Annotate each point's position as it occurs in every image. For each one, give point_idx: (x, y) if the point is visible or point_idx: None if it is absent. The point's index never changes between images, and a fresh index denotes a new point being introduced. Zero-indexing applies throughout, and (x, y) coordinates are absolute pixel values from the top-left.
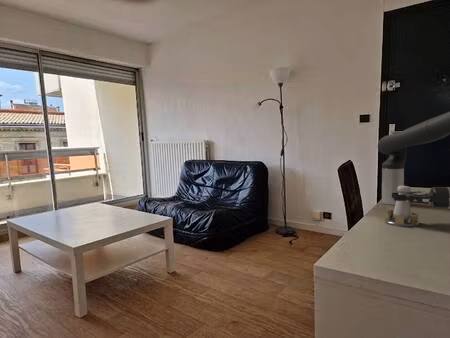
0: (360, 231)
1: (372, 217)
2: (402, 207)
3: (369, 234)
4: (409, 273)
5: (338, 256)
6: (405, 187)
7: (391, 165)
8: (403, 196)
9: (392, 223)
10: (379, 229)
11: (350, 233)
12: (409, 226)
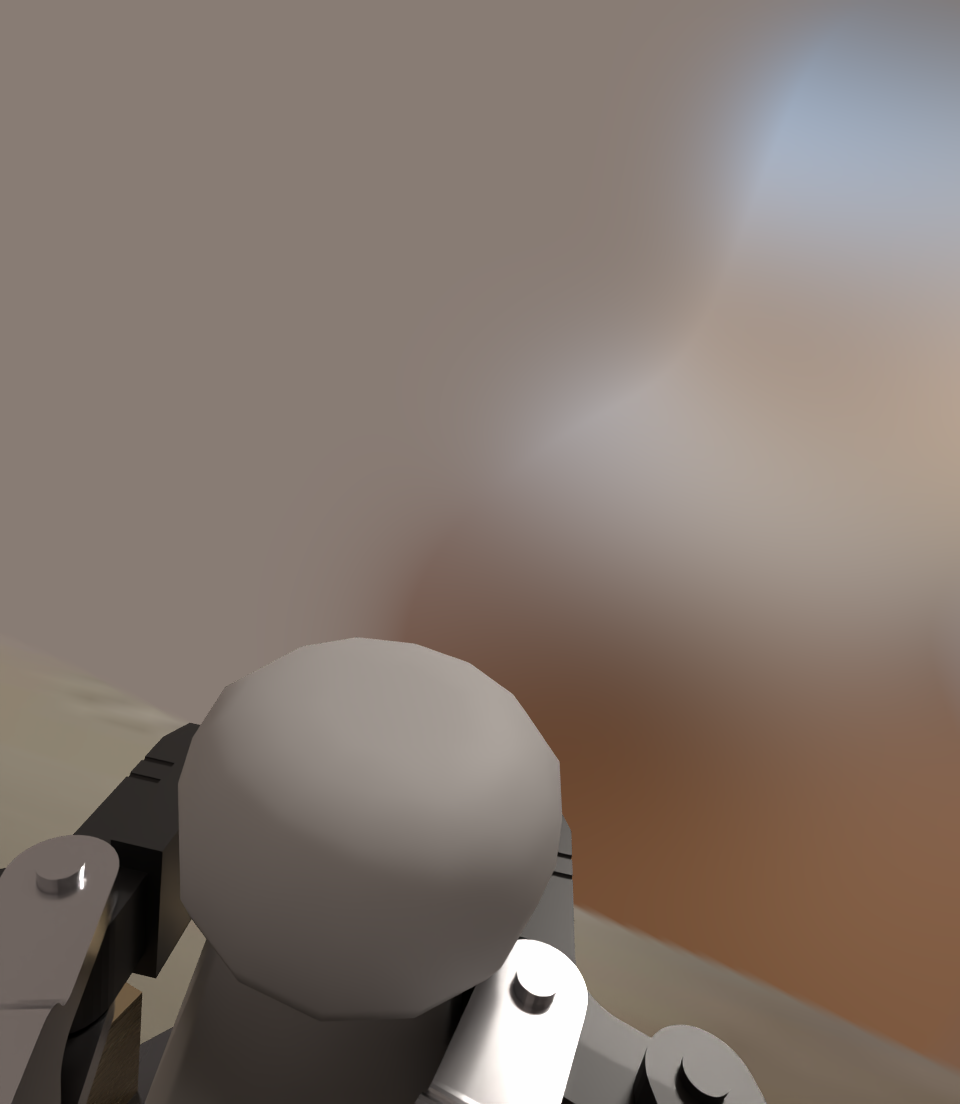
0: (41, 709)
1: (593, 968)
2: (168, 1042)
3: None
4: None
5: None
6: (227, 697)
7: None
8: (95, 811)
9: (151, 1044)
10: (27, 848)
11: (22, 653)
12: None
